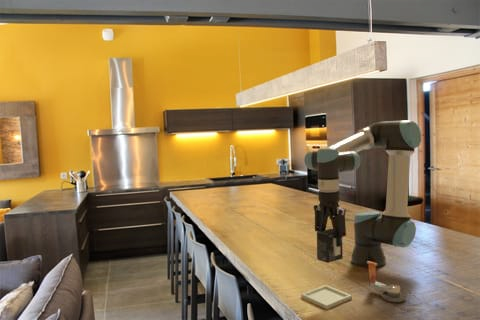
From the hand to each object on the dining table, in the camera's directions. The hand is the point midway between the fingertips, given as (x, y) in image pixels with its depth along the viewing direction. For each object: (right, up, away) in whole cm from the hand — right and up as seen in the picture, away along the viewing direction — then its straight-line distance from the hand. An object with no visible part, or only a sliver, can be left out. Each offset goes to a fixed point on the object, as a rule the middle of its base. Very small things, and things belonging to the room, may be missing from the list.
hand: (330, 252), depth 148 cm
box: (0, -3, 0) cm, 3 cm away
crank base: (+23, -16, -2) cm, 28 cm away
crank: (+20, -15, +2) cm, 25 cm away
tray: (-1, -17, +2) cm, 17 cm away
